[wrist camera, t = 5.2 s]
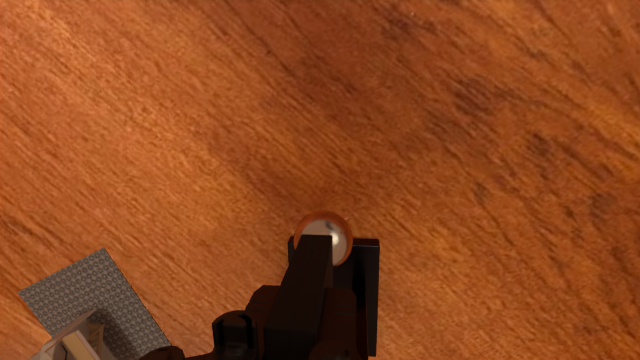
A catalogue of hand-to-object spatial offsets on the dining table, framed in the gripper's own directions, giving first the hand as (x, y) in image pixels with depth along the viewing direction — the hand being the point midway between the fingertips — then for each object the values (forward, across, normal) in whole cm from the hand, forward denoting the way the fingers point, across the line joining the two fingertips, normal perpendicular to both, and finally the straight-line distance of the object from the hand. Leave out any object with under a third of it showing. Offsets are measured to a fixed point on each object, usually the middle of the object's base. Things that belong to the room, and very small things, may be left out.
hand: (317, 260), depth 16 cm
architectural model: (+10, -22, -14) cm, 28 cm away
